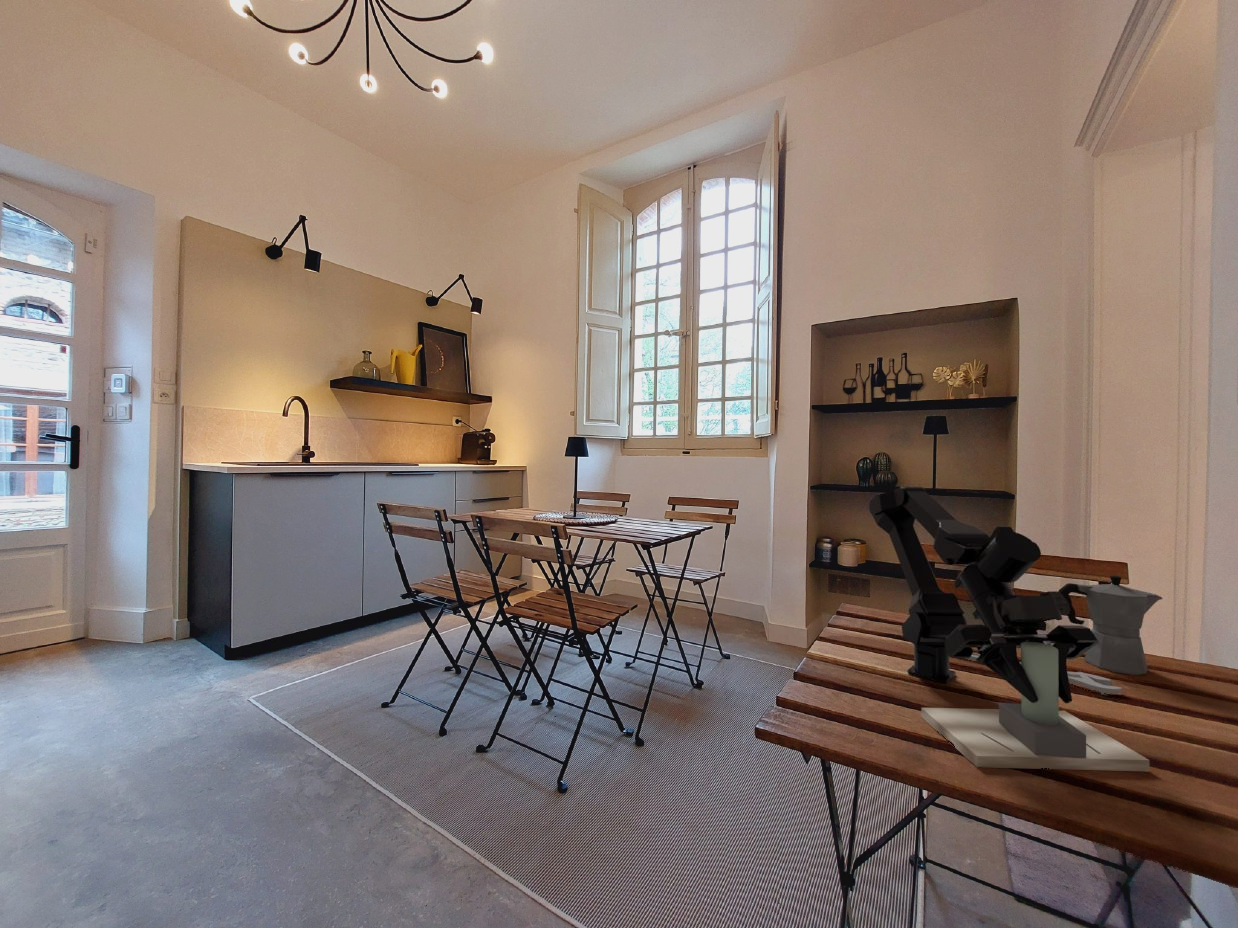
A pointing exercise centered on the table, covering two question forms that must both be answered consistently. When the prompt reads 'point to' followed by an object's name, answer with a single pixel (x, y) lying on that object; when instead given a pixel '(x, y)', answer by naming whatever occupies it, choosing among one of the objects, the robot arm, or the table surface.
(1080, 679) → the adjustable wrench
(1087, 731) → the birch board
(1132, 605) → the coffeepot
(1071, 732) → the block
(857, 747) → the table surface
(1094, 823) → the table surface
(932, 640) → the robot arm
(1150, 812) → the table surface
